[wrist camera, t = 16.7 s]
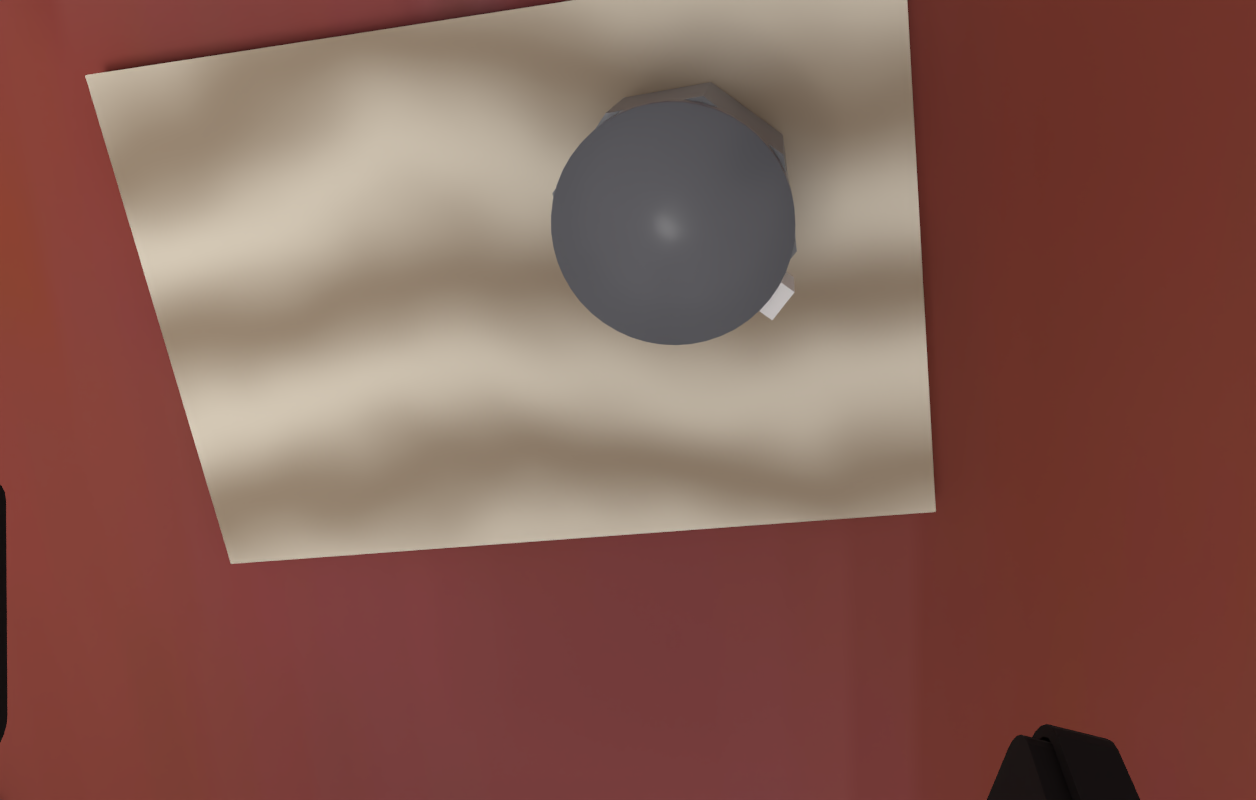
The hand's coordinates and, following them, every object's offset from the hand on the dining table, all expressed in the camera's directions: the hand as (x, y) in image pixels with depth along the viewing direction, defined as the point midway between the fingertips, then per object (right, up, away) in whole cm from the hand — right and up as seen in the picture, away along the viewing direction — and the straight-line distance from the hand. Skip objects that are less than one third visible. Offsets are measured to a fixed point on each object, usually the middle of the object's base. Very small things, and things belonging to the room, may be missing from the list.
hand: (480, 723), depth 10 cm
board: (-2, +7, +28) cm, 29 cm away
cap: (+3, +9, +24) cm, 26 cm away
